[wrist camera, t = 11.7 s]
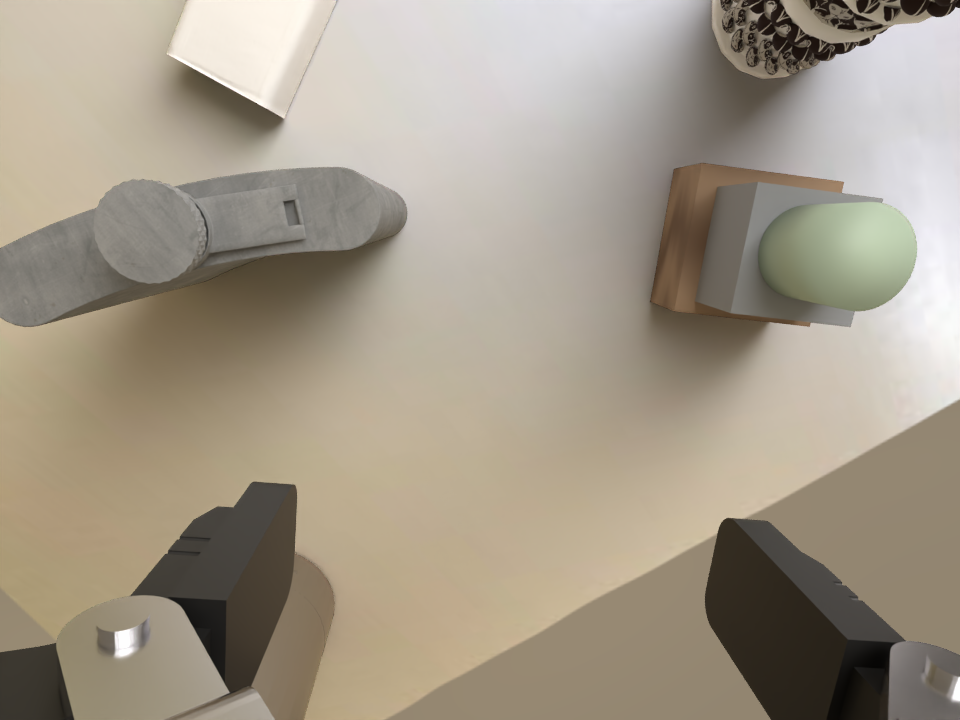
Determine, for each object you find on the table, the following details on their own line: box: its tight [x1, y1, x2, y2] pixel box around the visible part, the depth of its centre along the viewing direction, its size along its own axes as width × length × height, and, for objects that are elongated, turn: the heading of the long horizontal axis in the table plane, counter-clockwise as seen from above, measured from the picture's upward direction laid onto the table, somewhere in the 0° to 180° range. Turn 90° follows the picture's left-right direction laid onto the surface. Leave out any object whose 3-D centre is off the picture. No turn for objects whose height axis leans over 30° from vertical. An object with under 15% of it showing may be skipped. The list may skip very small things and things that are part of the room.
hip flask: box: [0, 167, 407, 327], centre depth 31 cm, size 16×4×20 cm, turn 103°
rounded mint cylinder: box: [758, 202, 917, 311], centre depth 31 cm, size 5×5×5 cm
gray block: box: [695, 182, 883, 327], centre depth 36 cm, size 7×7×5 cm
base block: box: [650, 163, 844, 327], centre depth 41 cm, size 9×9×5 cm
